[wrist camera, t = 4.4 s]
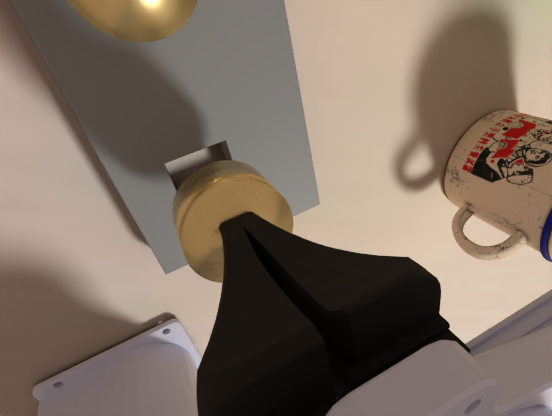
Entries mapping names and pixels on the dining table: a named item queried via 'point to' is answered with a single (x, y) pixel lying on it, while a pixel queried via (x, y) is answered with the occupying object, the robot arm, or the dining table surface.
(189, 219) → the brass knob
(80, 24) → the slate panel
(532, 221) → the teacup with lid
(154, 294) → the dining table surface
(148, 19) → the brass knob
